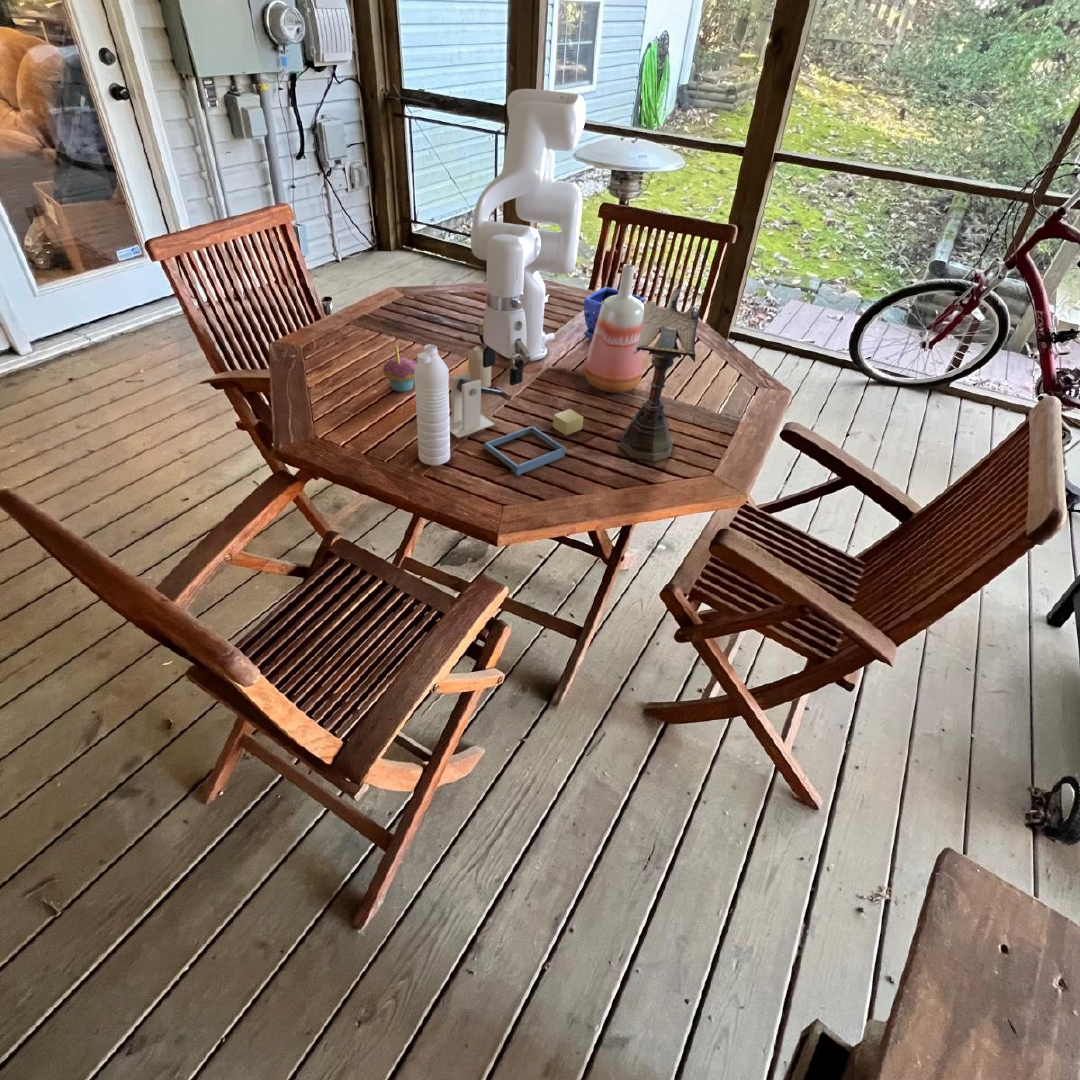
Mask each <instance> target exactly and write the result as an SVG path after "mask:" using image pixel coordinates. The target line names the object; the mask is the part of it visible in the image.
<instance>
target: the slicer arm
mask: <svg viewBox="0 0 1080 1080" xmlns="http://www.w3.org/2000/svg"><path fill="white" fill-rule="evenodd" d="M468 382H471V381H470V380H465V379H460V380H459V383H458V386H457V390H459V391H460V392H462V384H465V383H468ZM481 394H487V395H494V396H499V397H501V398H502V399H504V400H505V401H507V402H509V401H511V400H512V395H511V394H509V392H507V391H506V390H504V389H502V388H500V387H499V386H497V385H496V386H494V387H493V388H490V387H488V388H485V387H481Z"/></svg>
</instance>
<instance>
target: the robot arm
mask: <svg viewBox="0 0 1080 1080" xmlns="http://www.w3.org/2000/svg"><path fill="white" fill-rule="evenodd" d="M506 110H507V117H508V122H509V124H508V131H507V137H506V143H505V144H506V145H505V151H504V157H503V165H502V170H501V172H500V173H499V174H498V175H497V176H496V177H494V179H492V181H490V182H489V183H488V184H487V186H486V187H485V188H484V190H482V193H481V194H480V195H479V197H478V199H477V201H476V205H475V208H474V212H473V219H472V225H471V232H470V249H471V253H472V254H473V255H474V257H476V258H477V259H479V260H482V261H486V296H485V297H486V301H485V305H484V313H483V323H482V324H478V325H477V332H478V335H479V337H478V338H479V340H480V343H481V346H480V347H481V348H482V350H484V351H483V367H484V368H487V367H490V366H491V367H493V366H495V365H496V363H497V362H496V361H497V358H496V357H497V353H498V354H500V355H501V356H502V357H505V358H506V359H508V361H509V363H510V366H511V367H510V368H509V385H510V386H515V385H519V384H521V383H523V379H524V378H523V377H524V376H523V374H524V368H525V367H526V365H528V364H529V361H532V362H536V361H539V360H542V359H543V358H545V357H546V356H547V353H548V352H547V351H548V349H547V347H546V346H545V344H547V342H551V341H554V340H555V339H556V335H555V333H554V332H550V333H546V332H545V331H544V330H543V329H544V318H545V317H544V315H545V303H546V302H545V296H546V286H545V283H544V279H543V278H542V276H541V274H539V273H550V274H559V275H567V274H570V273H572V272H573V270H574V269H575V266H576V263H577V258H578V249H579V239H580V229H581V219H582V209H583V208H582V207H583V197H582V196H583V195H582V191H581V187H579V185H577V184H576V183H574V182H571V181H563V180H556V179H554V171H555V160H556V158H555V153H554V151H556V152H572V151H573V150H574V149H575V148H576V147H577V145H578V143H579V140H580V138H581V135H582V132H583V130H584V126H585V122H586V113H587V112H586V103H585V100H584V98H583V97H582V95H581V94H578V93H574V92H567V91H566V92H565V91H555V90H546V89H536V88H519V89H515V90H513V91H512V92H510V94H509V95H508V97H507V101H506ZM514 199H515V213H516V215H517V216H516V217H518V218H519V219H520V220H522V221H524V222H529V223H534V224H535V223H536V224H543V225H555V226H557V227H559V229H560V231H558V230H547V229H543V228H542V229H541V228H534V227H533V226H530V225H524V224H515V223H509V222H502V221H501V222H498V221H490V220H489V219H490V216H491V215H492V213H493V211H495V210H496V208H498V207H499V206H501V205H502V204H504V203H506V202H508V201H511V200H514ZM516 360H517V361H516Z"/></svg>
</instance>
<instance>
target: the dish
mask: <svg viewBox="0 0 1080 1080" xmlns="http://www.w3.org/2000/svg"><path fill="white" fill-rule="evenodd" d="M531 433H532V434H533V435H535V436H536V437H538V438H540V439H541V441H544V442H545V443H547V444H548V445H550V446H551V447H553V448H554V449H555V450H552V451H550V452H547V453H545V454H543V455H540V456H537V457H535V458H532V459H530V460H528V461H525V462H522V463H520V464H517V463H515V462H514V461H513V460H512V459H510V458H508V457H507V456H506V455H504V454H503V453H502V452H501V451H499V450H498V449H497V448H495V447H496V446H498V445H501V444H503V443H507V442H509V441H513V440H515V439H517V438H520V437H522V436H525V435H528V434H531ZM483 448H484V449H485V450H487V451H488V452H489V453H490V454H492V455H493V456H494V457H496V458H497V459H498V460H499V461H501V462H503V463H504V464H505V465H507V466H508V468H510V469H509V471H510V472H511V473H513V475H515V476H519V475H523V474H525V473H528V472H530V471H532V470H535V469H537V468H539V467H543V466H544V465H547V464H550V463H551V462H554V461H556V460H557V461H558V460H559V459H561V458H564V457H565V456H566V448H567V447H565V446H563V445H562V444H561V443H559V442H557V441H556V440H555V439H553V438H551V437H550V436H548V435H547V434H545V433H544V432H542V431H541V430H540V429H538V428H536V427H535V426H533V425H531V426H528V427H525V428H521V429H519V430H517V431H514V432H511V433H508V434H505V435H503V436H501V437H500V436H499V437H498V438H495V439H492V440H489V441H487V442H484V447H483Z"/></svg>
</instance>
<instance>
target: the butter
mask: <svg viewBox="0 0 1080 1080" xmlns="http://www.w3.org/2000/svg"><path fill="white" fill-rule="evenodd" d="M552 417H553V418H552V428H553V429H555V430H557V431H558V432H560V434H563V435H564V436H567V435H568V436H569V435H570V434H574V433H575V432H578V431H581V430H582V429H583V424H584V416H583V415H581V414H579V413H578V412H577V411H575V410H573V409H571V408H568V409H566V410H563V411H560V412H556V413H554V414H553V416H552Z"/></svg>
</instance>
